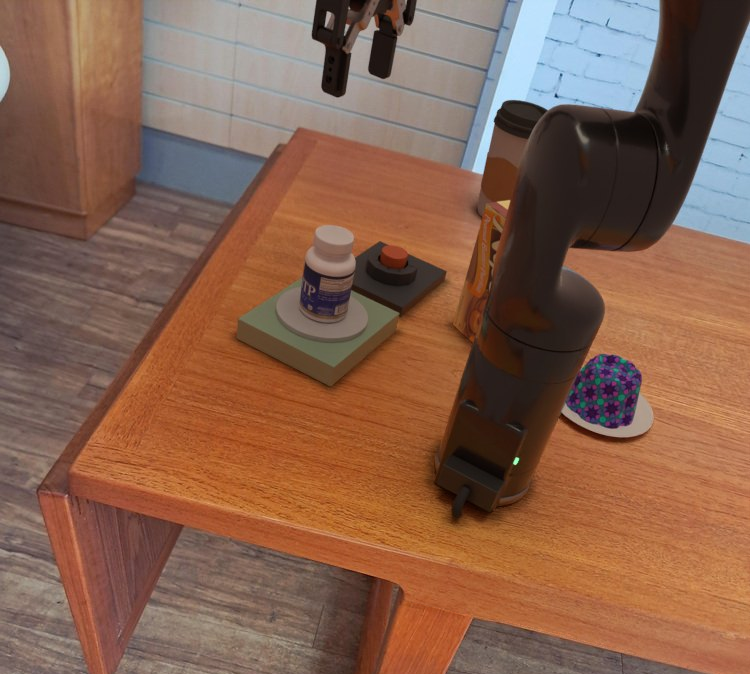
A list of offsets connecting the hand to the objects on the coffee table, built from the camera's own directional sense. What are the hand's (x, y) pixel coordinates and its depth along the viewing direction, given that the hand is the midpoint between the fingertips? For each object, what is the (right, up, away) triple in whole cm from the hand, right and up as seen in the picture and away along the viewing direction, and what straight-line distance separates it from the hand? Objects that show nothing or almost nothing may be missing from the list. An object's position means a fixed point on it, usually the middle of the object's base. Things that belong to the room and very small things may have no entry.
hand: (356, 84), depth 73 cm
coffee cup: (+20, +3, +44) cm, 48 cm away
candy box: (+15, -21, +18) cm, 31 cm away
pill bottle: (-4, -19, +11) cm, 22 cm away
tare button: (+4, -10, +22) cm, 24 cm away
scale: (-4, -21, +13) cm, 25 cm away
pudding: (+26, -29, +13) cm, 41 cm away
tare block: (+3, -12, +24) cm, 27 cm away
